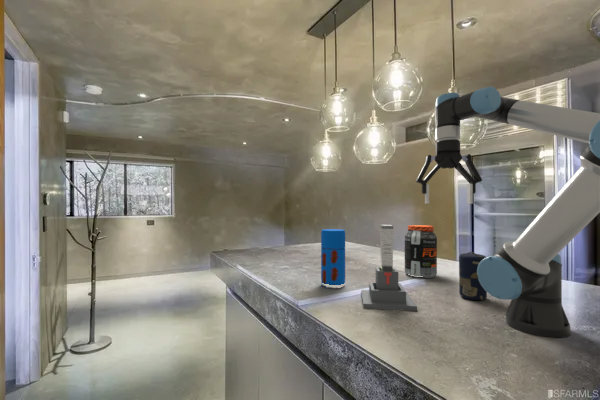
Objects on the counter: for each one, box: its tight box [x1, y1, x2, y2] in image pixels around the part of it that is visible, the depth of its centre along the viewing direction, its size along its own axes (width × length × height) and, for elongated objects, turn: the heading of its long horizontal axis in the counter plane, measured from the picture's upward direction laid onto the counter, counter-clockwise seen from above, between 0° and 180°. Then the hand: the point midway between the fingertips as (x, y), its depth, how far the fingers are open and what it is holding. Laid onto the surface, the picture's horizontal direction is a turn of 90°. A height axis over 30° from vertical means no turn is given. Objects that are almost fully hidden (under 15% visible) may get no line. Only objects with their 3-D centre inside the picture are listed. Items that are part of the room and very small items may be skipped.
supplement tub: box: [404, 224, 438, 279], centre depth 159 cm, size 16×16×26 cm
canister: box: [458, 251, 488, 301], centre depth 120 cm, size 10×10×18 cm
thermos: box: [320, 228, 346, 285], centre depth 138 cm, size 11×11×25 cm
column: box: [379, 224, 394, 271], centre depth 115 cm, size 6×4×22 cm
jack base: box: [360, 266, 418, 312], centre depth 115 cm, size 18×18×13 cm
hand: (448, 203), depth 103 cm, fingers open, 13 cm apart
